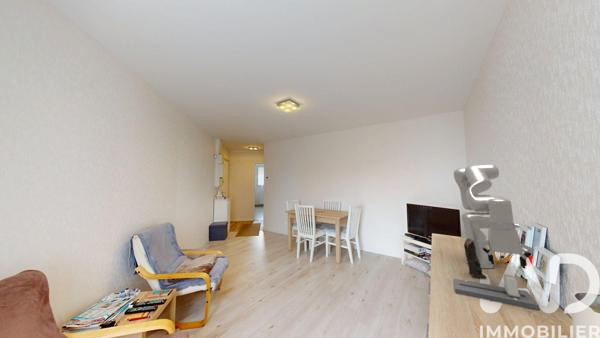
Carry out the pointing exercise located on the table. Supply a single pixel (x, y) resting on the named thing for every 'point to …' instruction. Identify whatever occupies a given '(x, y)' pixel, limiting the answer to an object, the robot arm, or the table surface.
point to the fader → (511, 285)
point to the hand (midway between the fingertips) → (507, 265)
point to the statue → (473, 260)
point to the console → (494, 293)
